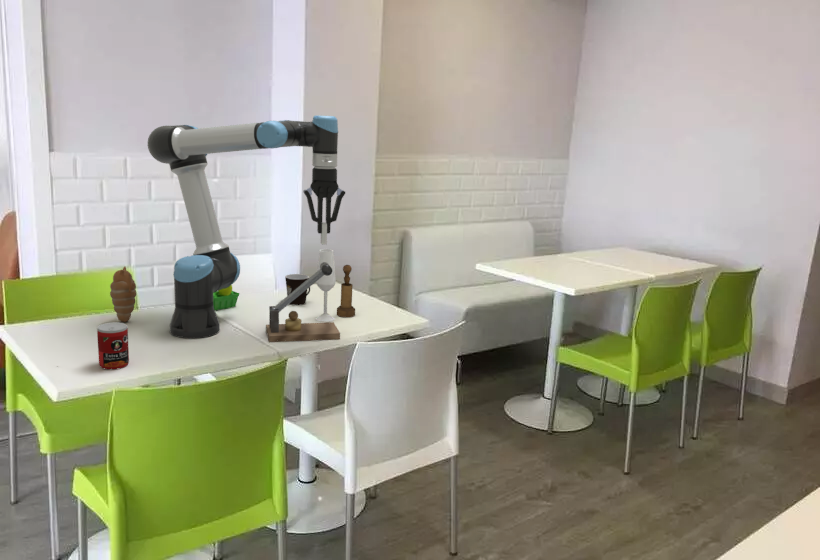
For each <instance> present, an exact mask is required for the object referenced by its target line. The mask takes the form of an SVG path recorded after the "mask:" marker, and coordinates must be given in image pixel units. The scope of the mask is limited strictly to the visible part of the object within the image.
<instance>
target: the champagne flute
mask: <svg viewBox="0 0 820 560" xmlns="http://www.w3.org/2000/svg"><path fill="white" fill-rule="evenodd" d="M318 251H319V253H318V262H317V271H318V270H320V265H321V263H323V262H326V263H328V264H329V266H330V267H331V268H332V273H331V275H329V276H326V275H324V276H322V277H321V278H320V279H319V280H318V281H316V282H315V283H316V285H317V287H318V288H319V289H320V290H321V291H322V292H323V313H322V314H320V315H318V316H317V317H315V320H316V321H318V322H322V323H328V322H334V321H335V320H336V318H335V317H333V316H332V315H330V314H329V313H328V292H329V291H331V290H332V289H333V288H334V286H335V285H336V284H337V282H336V281H337V280H336V267H335V254H334V253H335V252H334V251H335V250H333V249H330V248H322V249H321V248H320V249H319V250H318ZM317 271H316V272H317Z"/></svg>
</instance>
